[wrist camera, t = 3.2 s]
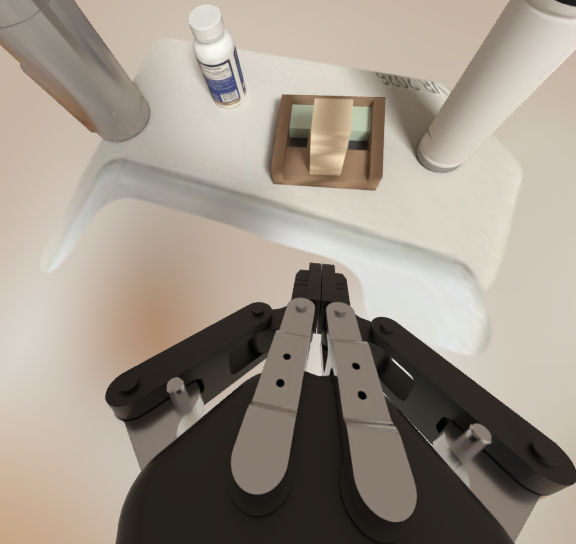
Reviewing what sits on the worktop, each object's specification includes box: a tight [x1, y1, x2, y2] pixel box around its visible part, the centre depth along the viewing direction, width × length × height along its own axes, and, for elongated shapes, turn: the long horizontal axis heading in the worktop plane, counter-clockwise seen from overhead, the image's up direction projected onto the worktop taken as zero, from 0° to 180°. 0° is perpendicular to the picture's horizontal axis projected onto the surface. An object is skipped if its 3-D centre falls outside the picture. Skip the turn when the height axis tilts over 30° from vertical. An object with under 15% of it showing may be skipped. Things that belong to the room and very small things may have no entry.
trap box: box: [271, 95, 385, 190], centre depth 31 cm, size 14×12×3 cm
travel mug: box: [417, 0, 576, 173], centre depth 22 cm, size 6×7×20 cm
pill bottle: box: [188, 5, 246, 108], centre depth 32 cm, size 5×5×10 cm
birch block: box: [310, 98, 353, 176], centre depth 27 cm, size 4×4×7 cm
